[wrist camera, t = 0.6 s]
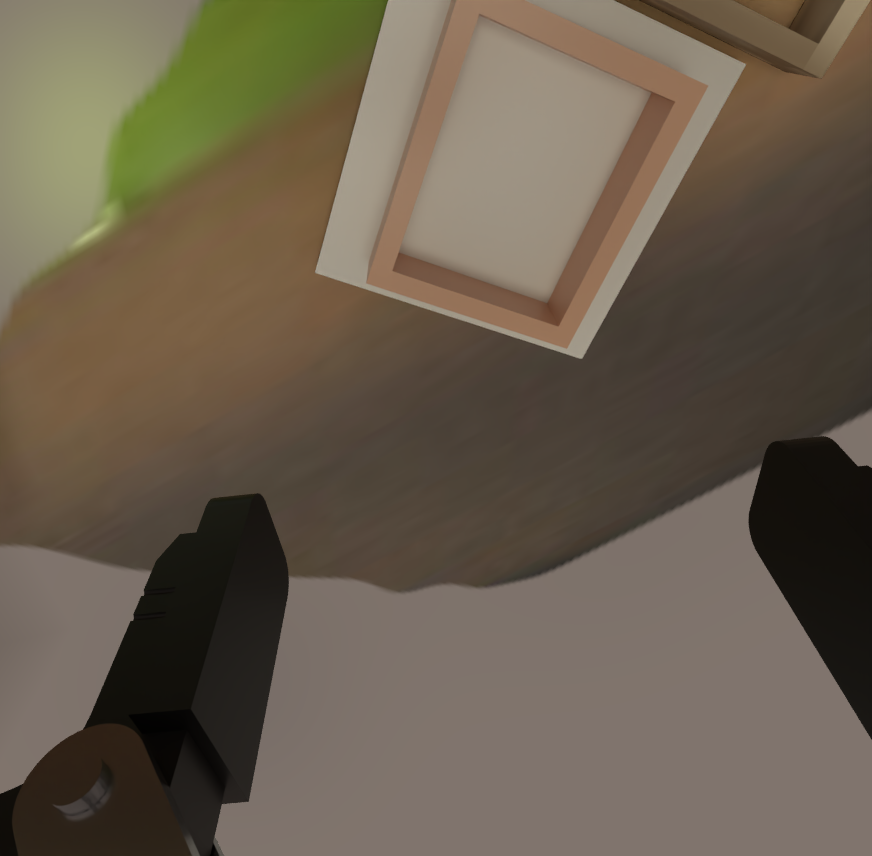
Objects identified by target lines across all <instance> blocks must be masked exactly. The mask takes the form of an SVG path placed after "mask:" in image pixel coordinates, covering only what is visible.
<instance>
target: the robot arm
mask: <svg viewBox="0 0 872 856" xmlns="http://www.w3.org/2000/svg"><path fill="white" fill-rule="evenodd" d="M749 529H750V535H751V539H752V542H753V545H754V547H755V549H756V551H757V553H758V554H759V556H760V558H761V559H762V561H763V563H764V564H765V566H766V568H767V569H768V571H769V572H770V574H771V576H772V577H773V579H774V581H775V582H776V584H777V585H778V587H779V589H780V590H781V592H782V594H783V595H784V597H785V599H786V600H787V602H788V603H789V605H790V607H791V608H792V610H793V612H794V613H795V615H796V616H797V618H798V620H799V621H800V623H801V625H802V626H803V628H804V630H805V631H806V633H807V635H808V636H809V638H810V639H811V641H812V643H813V644H814V646H815V648H816V649H817V651H818V652H819V654H820V656H821V657H822V659H823V661H824V662H825V664H826V666H827V667H828V669H829V670H830V672H831V674H832V675H833V677H834V679H835V680H836V682H837V684H838V685H839V687H840V689H841V690H842V692H843V693H844V695H845V697H846V698H847V700H848V702H849V703H850V705H851V707H852V708H853V710H854V711H855V713H856V715H857V716H858V718H859V720H860V721H861V723H862V724H863V726H864V728H865V730H866V731H867V733H868V734H869V736H870V738H871V739H872V468H871V467H869V466H857V465H856V464H855V463H854V462H853V461H852V460H851V459H850V457H849V456H848V455H847V454H846V453H845V452H844V451H843V450H842V449H841V448H840V447H839V445H838V444H837V443H836V442H834V441H833V440H832V439H830V438H828V437H824V436H821V437H812V438H802V439H793V440H783V441H775V442H772V443H771V444H770V445H769V446H768V448H767V450H766V452H765V456H764V460H763V463H762V467H761V471H760V474H759V478H758V482H757V485H756V489H755V493H754V496H753V500H752V504H751V507H750V511H749ZM288 584H289V577H288V567H287V562H286V558H285V555H284V552H283V549H282V546H281V543H280V541H279V538H278V535H277V532H276V529H275V527H274V524H273V521H272V518H271V516H270V513H269V510H268V507H267V504H266V502H265V500H264V498H263V496H262V495H261V494H258V493H257V494H248V495H238V496H228V497H219V498H212V499H211V500H210V501H209V502H208V504H207V506H206V508H205V511H204V514H203V516H202V519H201V522H200V524H199V527H198V529H197V532H196V533H187V534H180V535H179V536H178V537H177V538H176V539H175V540H174V542H173V543H172V544H171V545H170V546H169V547H168V548H167V549H166V550H165V552H164V553H163V554H162V555H161V556H160V557H159V558H158V559H157V561H156V563H155V565H154V567H153V570H152V572H151V574H150V577H149V579H148V582H147V584H146V586H145V589H144V596H141V598H140V601H139V603H138V605H137V608H136V610H135V612H134V620H133V621H130V624H129V626H128V628H127V631H126V633H125V635H124V638H123V640H122V642H121V645H120V647H119V650H118V652H117V654H116V657H115V659H114V661H113V664H112V666H111V668H110V671H109V673H108V675H107V678H106V680H105V682H104V685H103V687H102V689H101V692H100V694H99V697H98V699H97V701H96V704H95V706H94V708H93V711H92V713H91V715H90V718H89V719H88V721H87V723H86V725H85V727H84V729H83V730H81V731H79V732H77V733H75V734H73V735H71V736H69V737H68V738H66V739H65V740H63V741H62V742H60V743H59V744H58V745H56V746H55V747H54V748H53V749H52V750H50V751H49V752H48V753H47V754H46V755H45V756H44V757H43V758H42V759H41V760H40V761H39V763H37V765H36V766H35V767H34V769H33V770H32V771H31V772H30V774H29V775H28V777H27V778H26V780H25V782H24V783H23V784H22V785H20V786H18V787H16V788H14V789H11V790H9V791H6V792H4V793H1V794H0V856H224V855H223V853H222V851H221V848H220V846H219V844H218V842H217V840H216V838H215V837H214V836H215V832H216V827H217V823H218V818H219V814H220V809H221V805H222V804H227V803H238V802H248V801H249V796H250V792H251V786H252V781H253V776H254V770H255V765H256V760H257V755H258V749H259V744H260V739H261V734H262V728H263V723H264V718H265V713H266V707H267V702H268V697H269V692H270V686H271V681H272V676H273V670H274V665H275V660H276V655H277V649H278V644H279V639H280V633H281V628H282V623H283V618H284V613H285V607H286V602H287V596H288V587H289V585H288Z"/></svg>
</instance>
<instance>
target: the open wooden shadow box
mask: <svg viewBox="0 0 872 856" xmlns="http://www.w3.org/2000/svg"><path fill="white" fill-rule="evenodd" d="M640 1H642V2H644V3H646V4H648V5H650V6H652V7H654V8H656V9H658V10H660V11H662V12H665V13H667V14H669V15H671V16H673V17H675V18H677V19H679V20H681V21H683V22H685V23H687V24H689V25H691V26H693V27H695V28H697V29H699V30H701V31H703V32H705V33H707V34H709V35H711V36H714V37H716V38H718V39H720V40H722V41H724V42H726V43H728V44H730V45H732V46H734V47H736V48H738V49H740V50H742V51H744V52H746V53H748V54H750V55H752V56H754V57H756V58H758V59H761V60H763V61H765V62H767V63H769V64H771V65H773V66H775V67H777V68H779V69H781V70H783V71H785V72H789V73H794V74H799V75H804V76H810V77H815V78H820V79H822V77H823V76H824V74H825V72H826V71H827V69H828V68H829V66H830V64H831V63H832V61H833V60H834V58H835V56H836V55H837V53H838V51H839V50H840V48H841V47H842V45H843V43H844V42H845V40H846V39H847V37H848V35H849V34H850V32H851V31H852V29H853V27H854V26H855V24H856V23H857V21H858V19H859V18H860V16H861V15H862V13H863V11H864V10H865V8H866V7H867V5H868V3H869V2H870V0H805V2H804V4H803V6H802V7H801V9H800V11H799V12H798V14H797V16H796V18H795V19H794V21H793V23H792V25H791V26H790V28H789V29H788V28H786V27H784V26H782V25H780V24H778V23H776V22H775V21H773V20H771V19H769V18H767V17H765V16H763V15H761V14H759V13H757V12H755V11H753V10H751V9H749V8H747V7H745V6H743V5H741V4H739V3H737V2H735V1H733V0H640Z"/></svg>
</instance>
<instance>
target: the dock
mask: <svg viewBox="0 0 872 856" xmlns="http://www.w3.org/2000/svg"><path fill="white" fill-rule="evenodd" d="M745 66H746V64H744V63H742V62H740V61H738V60H736V59H734V58H732V57H730V56H728V55H726V54H724V53H722V52H720V51H717V50H715V49H713V48H711V47H709V46H707V45H705V44H703V43H701V42H699V41H697V40H695V39H693V38H691V37H689V36H687V35H684V34H682V33H680V32H678V31H676V30H674V29H672V28H670V27H668V26H666V25H664V24H662V23H660V22H658V21H656V20H653V19H651V18H649V17H647V16H645V15H643V14H641V13H639V12H637V11H635V10H633V9H631V8H629V7H627V6H625V5H622V4H620V3H618V2H616V1H614V0H388V3H387V7H386V11H385V14H384V18H383V22H382V25H381V29H380V33H379V37H378V40H377V44H376V48H375V51H374V55H373V59H372V63H371V66H370V70H369V74H368V78H367V81H366V85H365V89H364V92H363V96H362V100H361V104H360V107H359V111H358V115H357V118H356V122H355V126H354V130H353V133H352V137H351V141H350V145H349V148H348V152H347V156H346V159H345V163H344V167H343V171H342V174H341V178H340V182H339V185H338V189H337V193H336V197H335V200H334V204H333V208H332V211H331V215H330V219H329V223H328V226H327V230H326V234H325V238H324V241H323V245H322V249H321V252H320V256H319V260H318V264H317V267H316V271H315V273H317V274H320V275H323V276H326V277H330V278H333V279H336V280H339V281H342V282H345V283H348V284H351V285H354V286H357V287H361V288H364V289H367V290H370V291H373V292H376V293H379V294H382V295H385V296H388V297H391V298H395V299H398V300H401V301H404V302H407V303H410V304H413V305H416V306H419V307H422V308H425V309H429V310H432V311H435V312H438V313H441V314H444V315H447V316H450V317H453V318H456V319H459V320H463V321H466V322H469V323H472V324H475V325H478V326H481V327H484V328H487V329H490V330H493V331H497V332H500V333H503V334H506V335H509V336H512V337H515V338H518V339H521V340H524V341H527V342H531V343H534V344H537V345H540V346H543V347H546V348H549V349H552V350H555V351H558V352H561V353H565V354H568V355H571V356H574V357H577V358H580V359H582V358H583V356H584V354H585V352H586V350H587V349H588V347H589V345H590V343H591V341H592V340H593V338H594V336H595V334H596V333H597V331H598V329H599V327H600V325H601V324H602V322H603V320H604V318H605V316H606V315H607V313H608V311H609V309H610V307H611V306H612V304H613V302H614V300H615V299H616V297H617V295H618V293H619V291H620V290H621V288H622V286H623V284H624V282H625V281H626V279H627V277H628V275H629V273H630V272H631V270H632V268H633V266H634V264H635V263H636V261H637V259H638V257H639V256H640V254H641V252H642V250H643V248H644V247H645V245H646V243H647V241H648V239H649V238H650V236H651V234H652V232H653V230H654V229H655V227H656V225H657V223H658V221H659V220H660V218H661V216H662V214H663V213H664V211H665V209H666V207H667V205H668V204H669V202H670V200H671V198H672V196H673V195H674V193H675V191H676V189H677V187H678V186H679V184H680V182H681V180H682V179H683V177H684V175H685V173H686V171H687V170H688V168H689V166H690V164H691V162H692V161H693V159H694V157H695V155H696V153H697V152H698V150H699V148H700V146H701V144H702V143H703V141H704V139H705V137H706V136H707V134H708V132H709V130H710V128H711V127H712V125H713V123H714V121H715V119H716V118H717V116H718V114H719V112H720V110H721V109H722V107H723V105H724V103H725V101H726V100H727V98H728V96H729V94H730V93H731V91H732V89H733V87H734V85H735V84H736V82H737V80H738V78H739V76H740V75H741V73H742V71H743V69H744V67H745Z"/></svg>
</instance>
